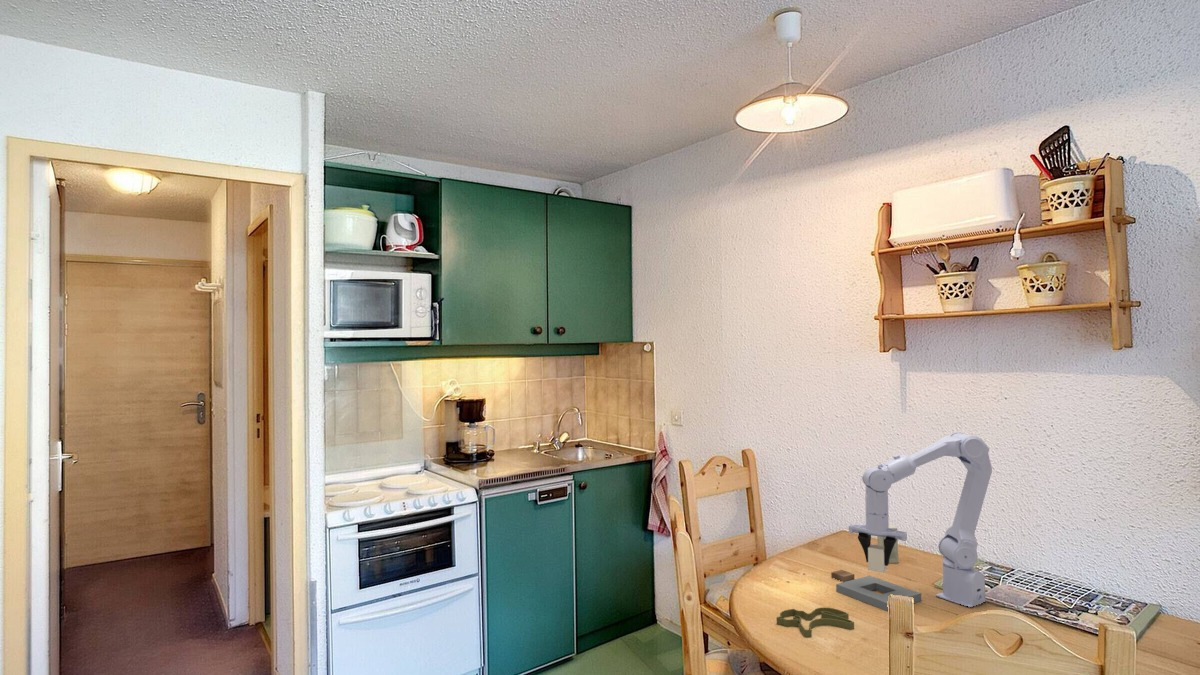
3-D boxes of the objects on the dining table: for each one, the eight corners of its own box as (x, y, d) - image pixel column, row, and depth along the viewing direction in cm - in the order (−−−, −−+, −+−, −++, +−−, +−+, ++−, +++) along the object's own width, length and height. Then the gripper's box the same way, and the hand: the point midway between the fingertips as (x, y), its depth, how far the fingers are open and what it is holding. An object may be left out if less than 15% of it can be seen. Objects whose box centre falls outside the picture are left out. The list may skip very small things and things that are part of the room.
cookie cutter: (799, 640, 147) (799, 632, 147) (769, 620, 158) (769, 612, 158) (862, 629, 153) (862, 621, 153) (828, 611, 164) (828, 603, 164)
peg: (887, 568, 174) (886, 546, 175) (884, 572, 171) (883, 550, 171) (871, 566, 177) (871, 544, 177) (868, 569, 173) (867, 547, 174)
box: (894, 559, 206) (893, 524, 206) (898, 563, 201) (898, 527, 202) (877, 558, 206) (876, 524, 206) (881, 562, 202) (881, 527, 202)
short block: (854, 581, 186) (854, 574, 187) (844, 583, 184) (844, 576, 184) (841, 576, 190) (841, 569, 190) (831, 579, 188) (831, 572, 188)
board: (921, 600, 170) (921, 593, 170) (887, 611, 163) (887, 603, 163) (869, 582, 184) (869, 575, 184) (836, 591, 177) (836, 584, 177)
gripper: (908, 513, 173) (909, 564, 173) (852, 506, 182) (853, 554, 181) (903, 518, 168) (904, 571, 167) (846, 511, 176) (846, 561, 176)
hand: (877, 563), depth 174 cm, fingers closed on peg, 4 cm apart
